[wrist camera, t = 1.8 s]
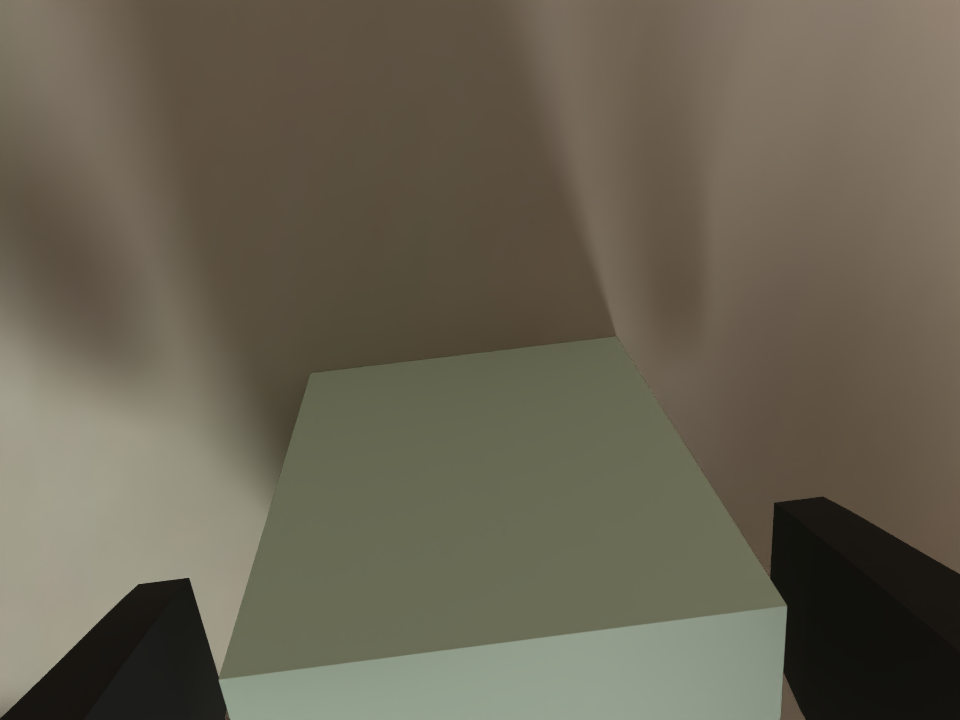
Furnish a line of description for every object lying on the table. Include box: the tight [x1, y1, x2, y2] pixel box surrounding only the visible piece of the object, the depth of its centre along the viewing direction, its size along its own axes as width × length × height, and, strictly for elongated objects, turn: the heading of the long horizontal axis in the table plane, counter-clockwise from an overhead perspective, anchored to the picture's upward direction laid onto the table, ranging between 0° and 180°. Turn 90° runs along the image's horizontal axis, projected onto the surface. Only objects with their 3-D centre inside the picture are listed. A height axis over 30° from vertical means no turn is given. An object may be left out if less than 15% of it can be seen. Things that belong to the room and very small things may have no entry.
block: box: [219, 336, 787, 720], centre depth 10 cm, size 4×4×6 cm
